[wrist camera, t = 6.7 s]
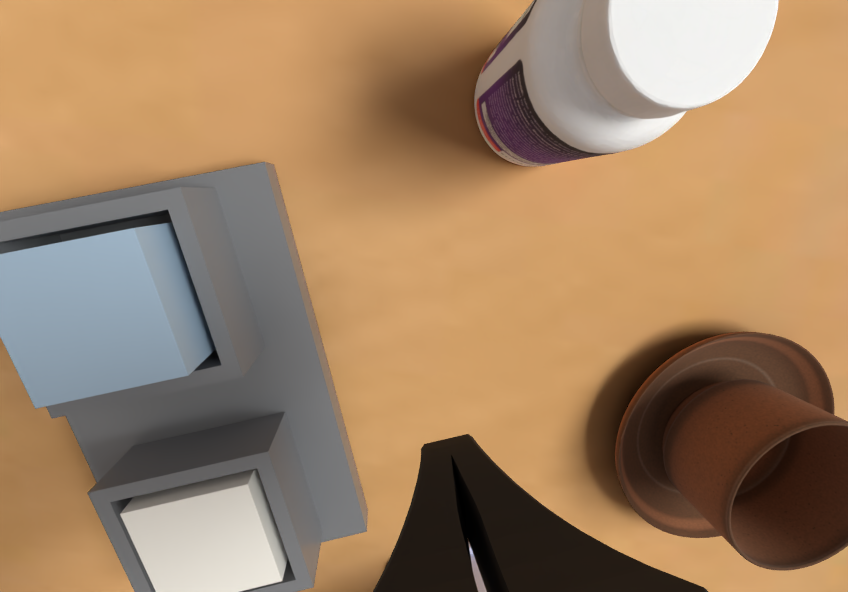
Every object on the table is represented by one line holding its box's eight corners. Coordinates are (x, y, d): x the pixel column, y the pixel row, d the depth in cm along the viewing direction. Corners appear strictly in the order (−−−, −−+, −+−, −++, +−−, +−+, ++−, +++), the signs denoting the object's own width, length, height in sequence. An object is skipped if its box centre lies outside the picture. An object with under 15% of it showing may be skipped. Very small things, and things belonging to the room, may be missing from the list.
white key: (296, 524, 20) (282, 581, 17) (195, 548, 20) (164, 610, 17) (267, 439, 19) (247, 484, 16) (160, 463, 19) (119, 514, 16)
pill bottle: (579, 172, 19) (771, 154, 10) (465, 160, 19) (554, 129, 9) (601, 42, 18) (846, -120, 9) (479, 24, 17) (600, -174, 8)
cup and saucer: (804, 300, 22) (959, 340, 16) (794, 486, 25) (921, 576, 19) (590, 348, 22) (671, 406, 16) (606, 532, 25) (679, 640, 19)
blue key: (222, 342, 16) (188, 375, 13) (97, 369, 16) (35, 408, 13) (180, 221, 15) (133, 228, 12) (44, 247, 15) (-37, 261, 12)
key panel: (367, 509, 22) (365, 585, 18) (160, 559, 22) (106, 650, 17) (273, 164, 18) (239, 155, 13) (6, 215, 17) (-120, 223, 13)
